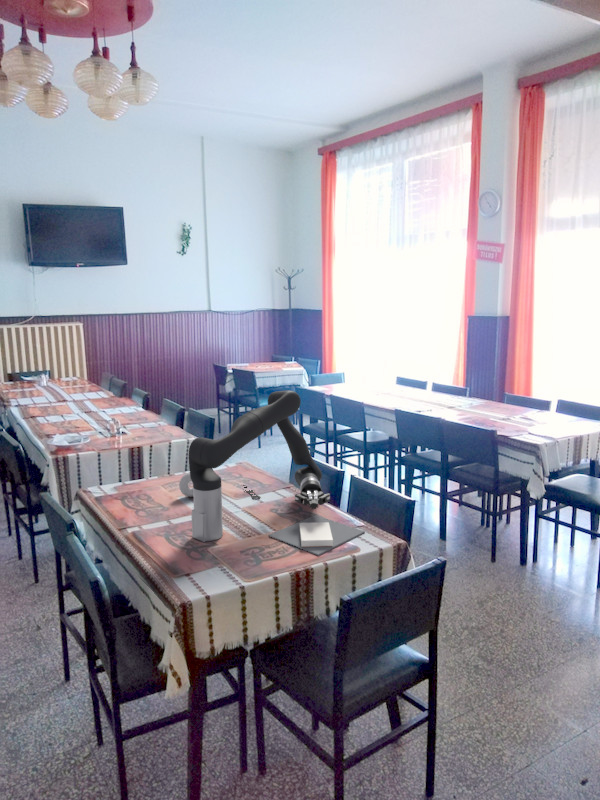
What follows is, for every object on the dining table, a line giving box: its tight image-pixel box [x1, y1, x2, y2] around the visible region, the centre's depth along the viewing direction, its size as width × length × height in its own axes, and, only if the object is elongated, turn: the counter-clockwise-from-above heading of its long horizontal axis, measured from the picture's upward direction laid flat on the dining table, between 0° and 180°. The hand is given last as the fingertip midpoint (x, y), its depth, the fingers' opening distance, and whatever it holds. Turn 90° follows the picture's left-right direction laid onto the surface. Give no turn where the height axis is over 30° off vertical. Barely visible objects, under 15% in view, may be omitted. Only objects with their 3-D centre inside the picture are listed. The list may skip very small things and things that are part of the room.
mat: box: [267, 514, 366, 557], centre depth 203 cm, size 24×22×1 cm
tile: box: [299, 522, 333, 547], centre depth 199 cm, size 2×10×14 cm
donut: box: [178, 471, 193, 498], centre depth 239 cm, size 10×4×10 cm, turn 119°
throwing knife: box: [243, 484, 261, 500], centre depth 245 cm, size 4×20×1 cm, turn 23°
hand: (314, 506), depth 204 cm, fingers closed
